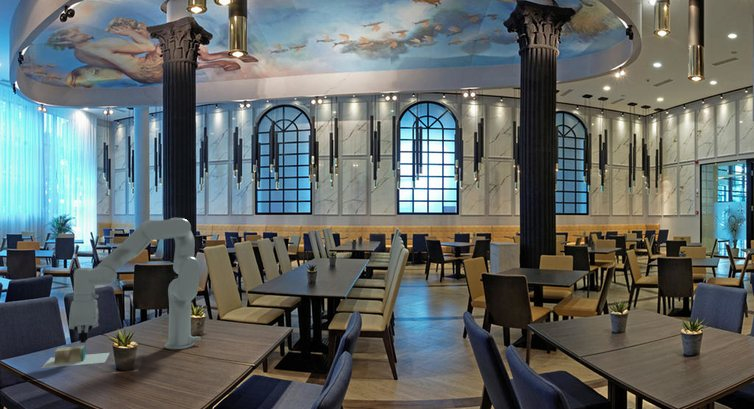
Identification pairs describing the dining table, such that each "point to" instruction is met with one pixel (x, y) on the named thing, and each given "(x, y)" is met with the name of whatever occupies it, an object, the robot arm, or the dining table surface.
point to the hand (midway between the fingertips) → (83, 341)
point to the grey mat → (88, 360)
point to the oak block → (70, 354)
